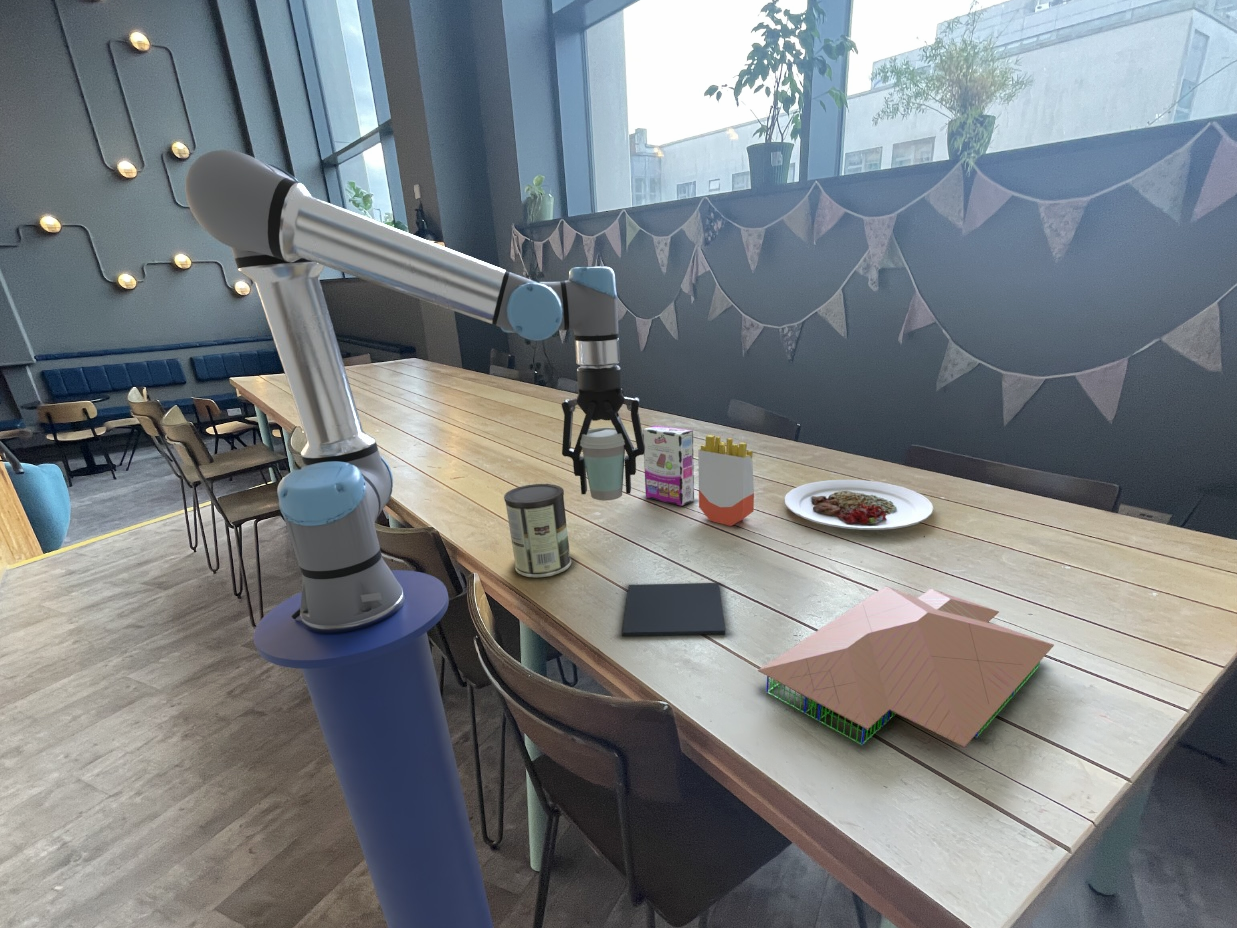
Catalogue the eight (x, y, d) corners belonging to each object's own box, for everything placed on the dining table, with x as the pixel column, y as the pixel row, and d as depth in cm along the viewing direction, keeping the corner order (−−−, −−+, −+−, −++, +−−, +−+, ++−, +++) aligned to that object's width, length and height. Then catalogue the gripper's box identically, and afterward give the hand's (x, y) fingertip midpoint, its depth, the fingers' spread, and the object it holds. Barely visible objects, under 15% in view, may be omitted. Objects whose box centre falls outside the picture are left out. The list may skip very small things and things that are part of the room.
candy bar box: (695, 500, 140) (694, 430, 134) (682, 507, 137) (680, 434, 130) (658, 491, 147) (655, 424, 141) (644, 497, 144) (641, 428, 137)
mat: (622, 636, 89) (621, 632, 89) (629, 587, 103) (629, 584, 103) (725, 634, 89) (725, 630, 88) (718, 585, 102) (718, 582, 102)
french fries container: (711, 511, 134) (710, 430, 126) (754, 521, 127) (756, 436, 120) (698, 518, 131) (697, 434, 123) (742, 528, 124) (744, 441, 117)
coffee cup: (622, 486, 120) (619, 425, 115) (634, 499, 112) (631, 435, 107) (579, 491, 117) (574, 429, 112) (589, 505, 110) (584, 440, 105)
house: (1055, 657, 80) (1070, 603, 77) (939, 794, 60) (952, 729, 57) (892, 598, 96) (898, 551, 92) (757, 691, 76) (758, 636, 73)
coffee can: (549, 549, 119) (541, 479, 113) (582, 564, 112) (575, 491, 106) (503, 566, 112) (492, 494, 107) (535, 583, 106) (525, 507, 100)
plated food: (867, 480, 149) (869, 466, 147) (965, 521, 123) (968, 505, 122) (759, 499, 140) (759, 485, 138) (839, 547, 114) (841, 531, 112)
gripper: (658, 361, 108) (661, 484, 117) (543, 364, 109) (555, 486, 118) (657, 367, 101) (660, 497, 111) (534, 370, 102) (548, 499, 111)
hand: (606, 491), depth 114 cm, fingers closed on coffee cup, 8 cm apart
